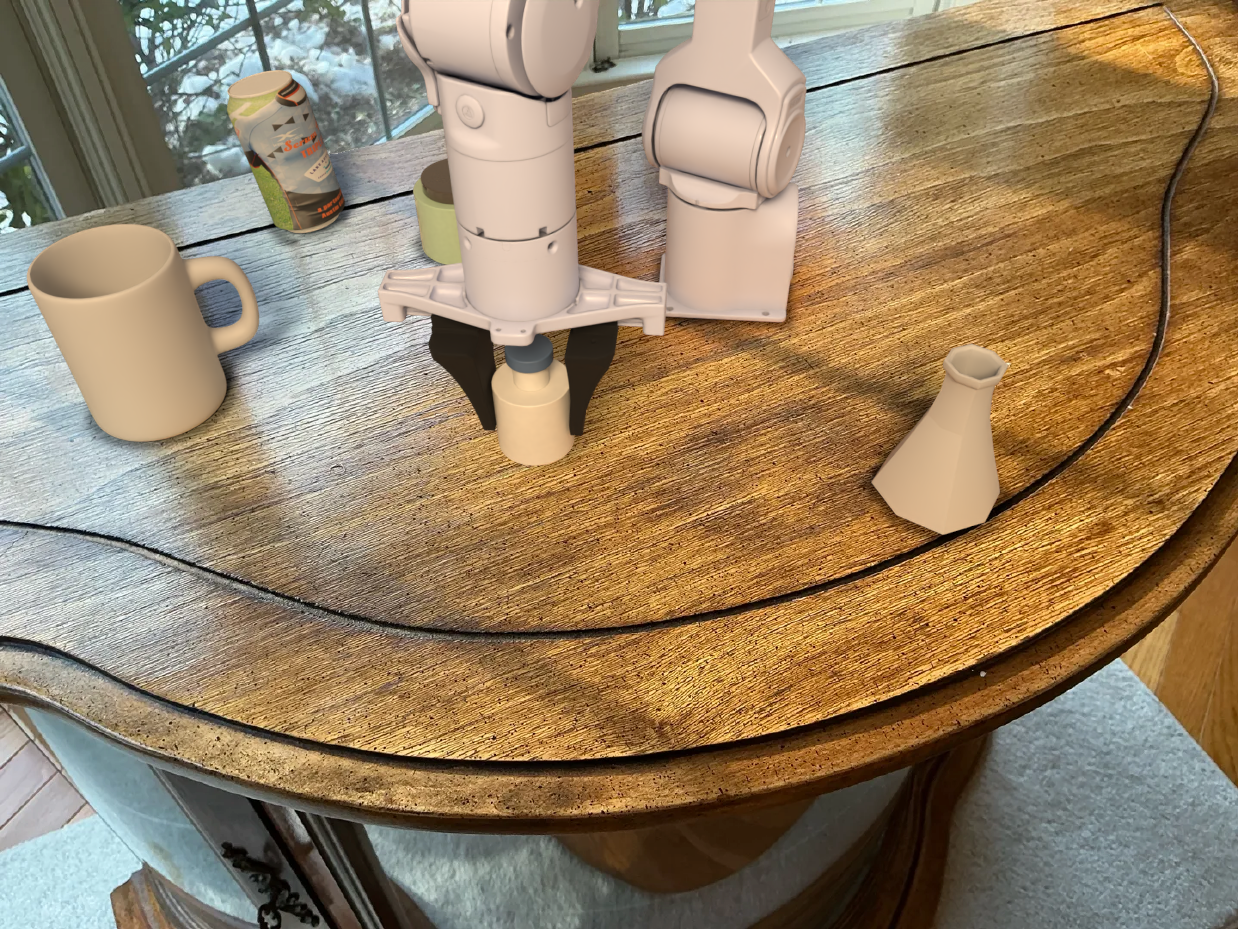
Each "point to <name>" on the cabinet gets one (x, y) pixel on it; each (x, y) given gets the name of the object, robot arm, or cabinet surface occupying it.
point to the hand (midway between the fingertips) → (534, 421)
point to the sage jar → (437, 214)
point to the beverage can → (285, 151)
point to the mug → (139, 327)
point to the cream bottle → (532, 404)
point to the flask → (949, 450)
